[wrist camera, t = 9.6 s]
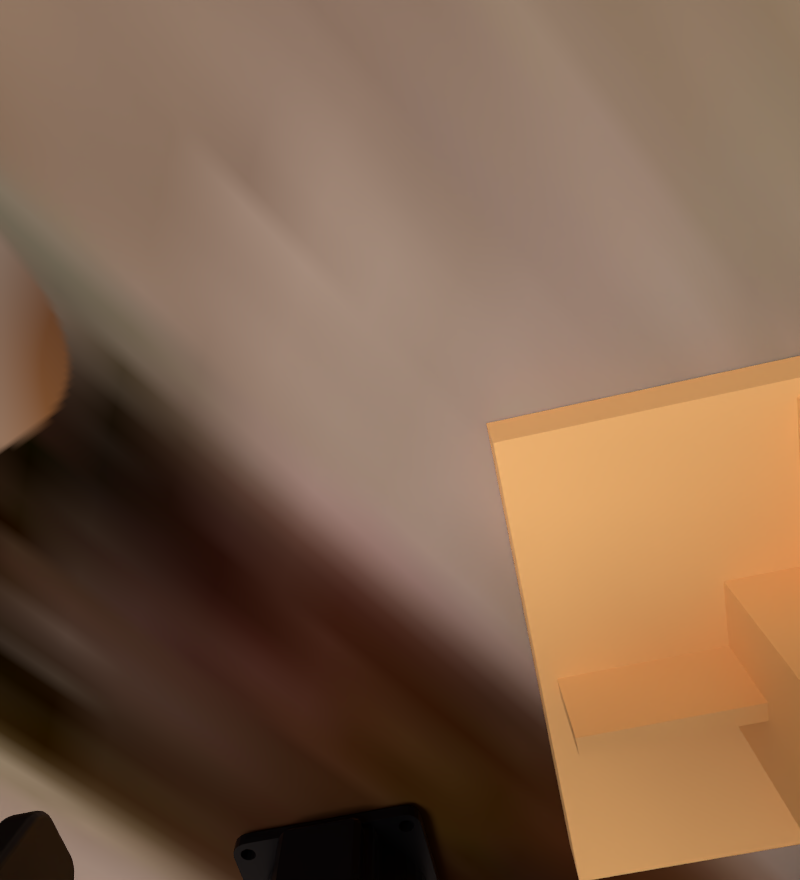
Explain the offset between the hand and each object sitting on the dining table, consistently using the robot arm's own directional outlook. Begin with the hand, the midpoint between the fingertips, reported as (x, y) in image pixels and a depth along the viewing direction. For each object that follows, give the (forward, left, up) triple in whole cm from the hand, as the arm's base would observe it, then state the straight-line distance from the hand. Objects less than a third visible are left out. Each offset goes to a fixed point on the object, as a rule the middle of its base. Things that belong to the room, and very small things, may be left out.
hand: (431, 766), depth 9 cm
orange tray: (-9, -10, -13) cm, 19 cm away
